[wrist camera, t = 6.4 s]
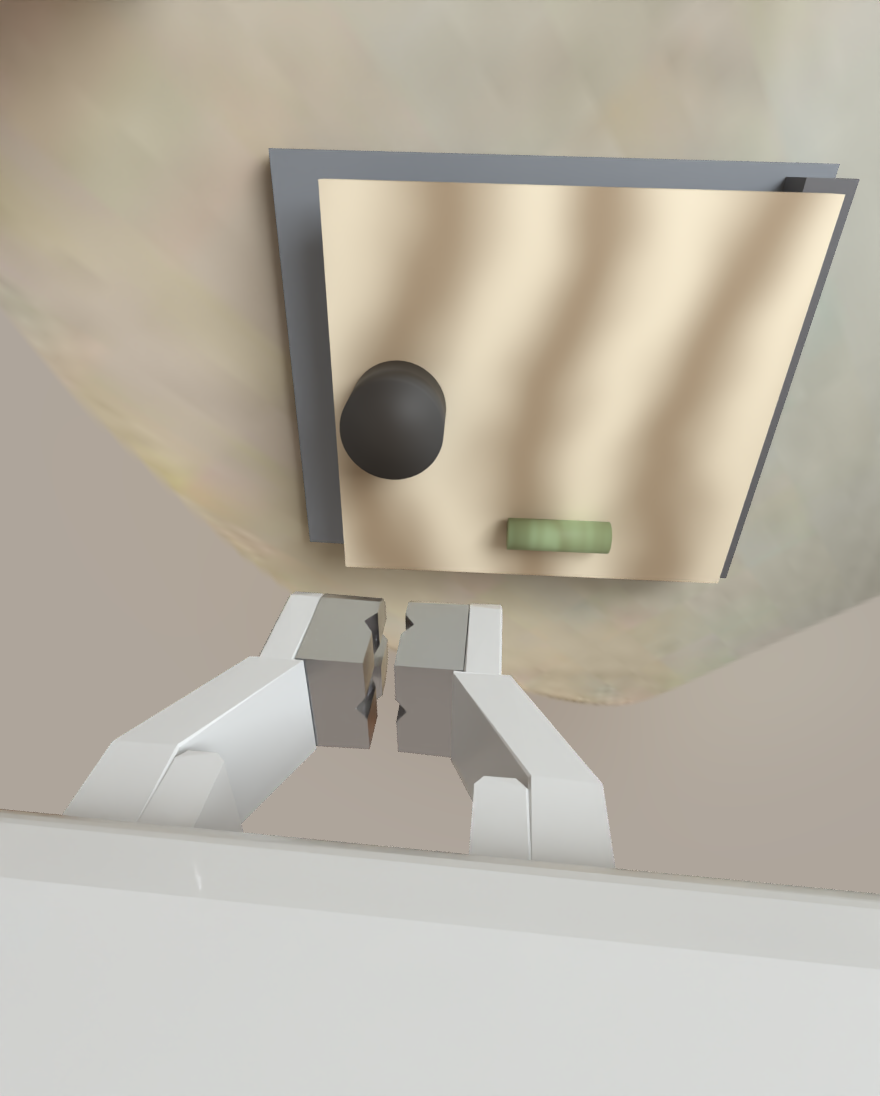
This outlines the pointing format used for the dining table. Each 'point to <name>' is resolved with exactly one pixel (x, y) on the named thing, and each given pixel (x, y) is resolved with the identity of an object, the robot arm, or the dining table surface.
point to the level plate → (558, 369)
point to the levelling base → (305, 166)
